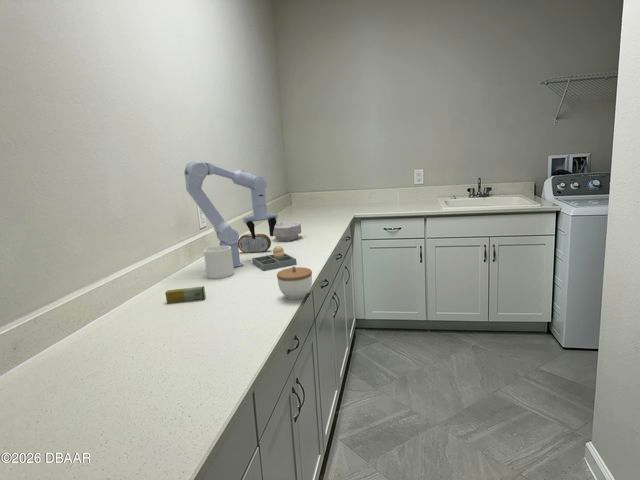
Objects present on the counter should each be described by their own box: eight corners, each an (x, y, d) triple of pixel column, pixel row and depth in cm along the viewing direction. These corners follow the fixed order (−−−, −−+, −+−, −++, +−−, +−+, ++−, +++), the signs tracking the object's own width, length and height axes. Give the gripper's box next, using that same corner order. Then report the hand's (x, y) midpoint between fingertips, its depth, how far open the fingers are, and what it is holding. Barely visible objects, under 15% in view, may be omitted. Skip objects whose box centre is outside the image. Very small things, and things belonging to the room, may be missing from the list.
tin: (271, 250, 195) (270, 232, 193) (270, 252, 192) (268, 234, 190) (240, 252, 197) (237, 234, 195) (238, 254, 194) (236, 236, 192)
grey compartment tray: (263, 270, 162) (262, 265, 162) (252, 263, 175) (252, 258, 174) (296, 264, 168) (296, 258, 168) (284, 257, 180) (283, 252, 180)
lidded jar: (282, 304, 125) (279, 274, 123) (276, 293, 135) (273, 265, 133) (317, 298, 128) (315, 268, 126) (309, 288, 138) (306, 260, 136)
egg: (275, 261, 173) (274, 247, 172) (272, 259, 177) (271, 246, 175) (286, 260, 175) (284, 246, 173) (282, 257, 178) (281, 244, 177)
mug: (226, 279, 156) (222, 252, 153) (202, 278, 159) (198, 252, 156) (241, 269, 167) (238, 244, 165) (219, 269, 170) (216, 244, 168)
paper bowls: (301, 241, 210) (299, 225, 208) (270, 243, 211) (268, 227, 209) (302, 235, 225) (301, 220, 223) (274, 237, 225) (272, 222, 224)
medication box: (206, 297, 137) (204, 285, 137) (205, 300, 135) (203, 288, 134) (168, 301, 137) (166, 289, 136) (166, 304, 134) (164, 292, 133)
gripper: (244, 208, 170) (248, 241, 173) (279, 204, 176) (282, 236, 179) (240, 206, 177) (244, 238, 180) (273, 202, 182) (276, 233, 185)
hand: (262, 237), depth 180 cm, fingers open, 7 cm apart
